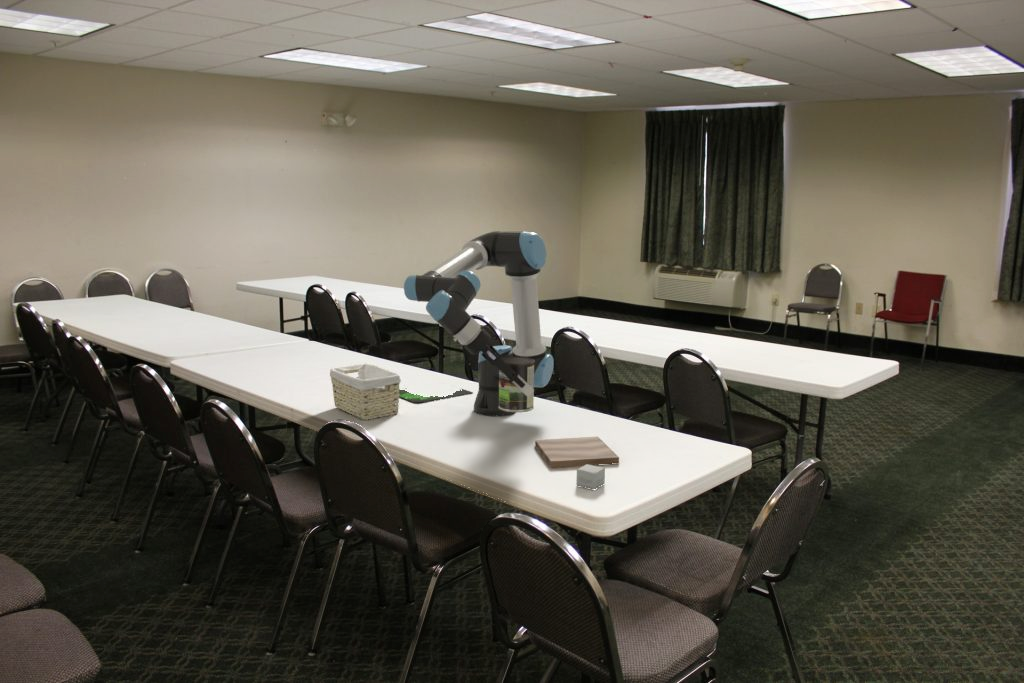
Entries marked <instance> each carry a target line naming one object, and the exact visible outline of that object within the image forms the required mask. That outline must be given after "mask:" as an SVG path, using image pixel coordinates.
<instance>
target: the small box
mask: <svg viewBox="0 0 1024 683" xmlns="http://www.w3.org/2000/svg"><path fill="white" fill-rule="evenodd" d="M605 475H606V467H602V466H598V465H594V466H593V465H588V464H586V465H584V466H580V467H579V468H577V469H576V484H575V485H577V486H581V487H586V488H590V489H596V488H598V487H599V486H601V485H603V484H605V483H606V482H605V478H606V476H605ZM577 486H576V487H577ZM603 486H604V485H603ZM581 487H580V488H581ZM586 488H585V489H586ZM590 489H589V490H590ZM598 489H599V488H598Z"/></svg>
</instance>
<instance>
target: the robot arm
mask: <svg viewBox="0 0 1024 683" xmlns="http://www.w3.org/2000/svg"><path fill="white" fill-rule="evenodd" d="M546 258H547V249H546V245H545V242H544V240H543V237H542V236H540V235H539V234H538V233H536V232H530V231H527V230H526V231H503V230H502V231H501V230H500V231H499V230H498V231H497V230H495V231H490V232H486V233H484V234H481V235H479V236H477V237H475V238H473V239H471V240H469V241H468V242H466V243H465V244H464V245H463V246H462V248H461V250H459V251H458V252H456V253H454V255H452V256H449V258H446V259H445V260H444V261H442V262H441V263H439V264H437V265H436V266H434V267H433V268H431V269H430V270H428V271H427V272H425V273H423V274H421V275H420V274H419V275H418V274H414V275H413V274H412V275H408V276H407V277H406V278H405V280H404V283H403V292H404V295H405V297H406V298H407V299H408V300H410V301H413V302H414V301H415V302H418V303H419V302H422V303H423V302H425V303H426V304H425V310H426V312H427V314H429V315H430V317H432V319H433V320H434V321H436V323H438V324H439V326H441V327H442V328H443V329H444V330H445V331H446V332H448V334H450V336H452V337H453V341H454V342H458V343H459V344H460V345H462V346H464V349H466V351H467V352H469V353H470V354H471V355H472V356H475V355H478V361H477V363H478V390H477V394H476V397H475V399H474V404H473V413H475V414H478V415H481V416H485V417H486V416H488V417H504V416H510V415H513V414H515V413H516V412H506V411H503V410H500V409H499V370H501V371H502V372H503V373H504V374H505V375H506V376H507V377H508V378H509V379H510V381H509V383H510V384H511V383H514V384H515V385H516V386H517V387H518V388H519V389H520V390H521V391H522V392H523V393H524V394H525V395H526V396H527V397H528V396H529V395H530V394H531V393H532V392H533V391H534V392H535V389H533V388H532V387H531V386H530V385H529V384H528V383H527V382H526V381H524V380H523V379H522V378H521V377H520V376H519V375H518V374H517V373H515V372H514V371H513V370H512V369H511V368H510V367H509V366H508V365H507V364H506V363H505V362H504V361H503V360H502V358H504V357H528V358H531V359H534V360H535V363H534V388H544V387H546V386H547V385H548V384H549V382H550V380H551V379H552V374H553V371H554V365H555V363H554V357H553V355H552V354H550V353H547V347H546V345H544V344H543V343H542V336H541V323H540V310H539V295H538V282H537V281H538V280H537V276H538V275H539V274H540V273H541V269H542V268H543V267H544V266H545V264H546V261H547V260H546ZM486 267H498V268H504V270H505V271H504V272H505V276H506V277H508V279H510V288H511V289H510V290H511V300H512V310H513V311H512V312H513V314H512V315H513V323H514V334H515V335H514V336H515V346H514V347H513V348H512V346H511V345H507V344H506V345H494V346H493V345H492V344H490V345H488V344H489V342H490V341H491V339H492V337H491V335H490V333H488V332H487V330H485V329H484V328H481V324H480V323H478V321H476V319H474V318H473V317H472V316H471V315H470V314H469V313H468V312H467V310H468V307H469V306H470V305H471V303H472V302H473V300H474V299H475V298H476V297H477V294H478V292H479V290H480V289H481V280H480V278H479V277H478V276H477V274H475V273H474V271H475V270H476V271H479V270H482V269H483V268H486ZM512 374H513V375H512ZM511 375H512V376H511ZM510 376H511V377H510Z"/></svg>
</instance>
